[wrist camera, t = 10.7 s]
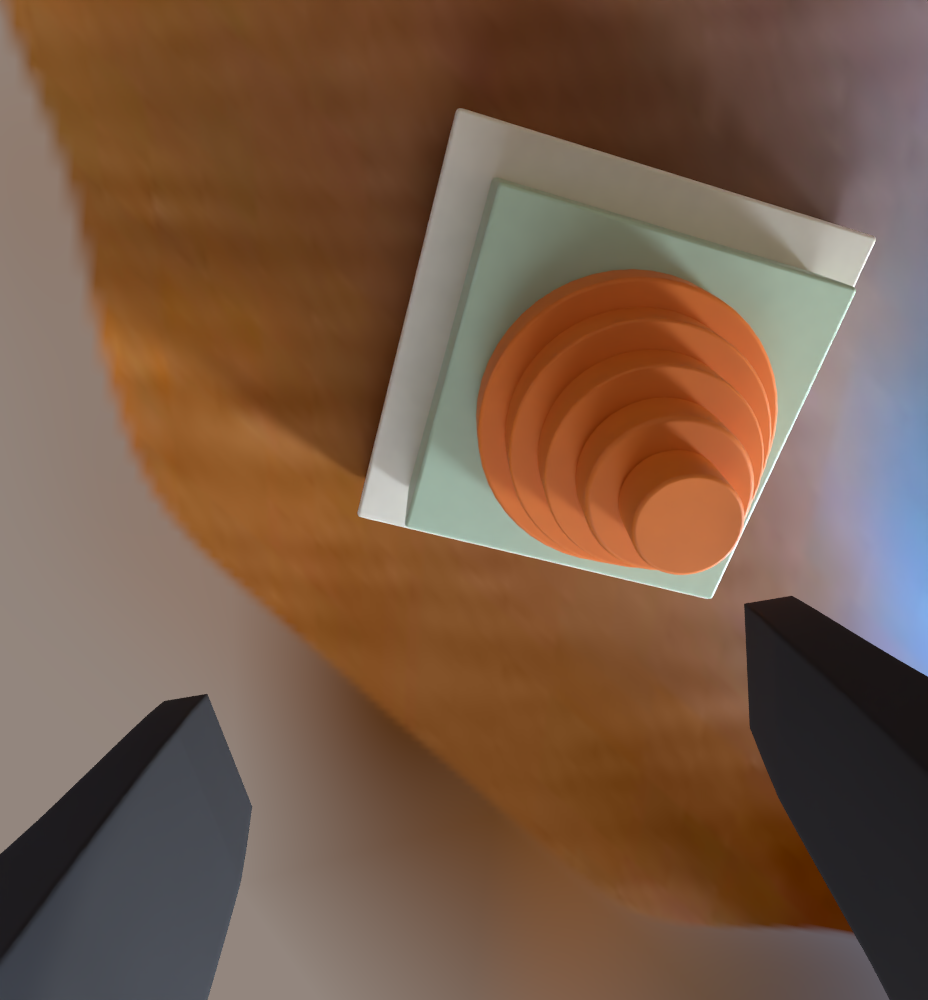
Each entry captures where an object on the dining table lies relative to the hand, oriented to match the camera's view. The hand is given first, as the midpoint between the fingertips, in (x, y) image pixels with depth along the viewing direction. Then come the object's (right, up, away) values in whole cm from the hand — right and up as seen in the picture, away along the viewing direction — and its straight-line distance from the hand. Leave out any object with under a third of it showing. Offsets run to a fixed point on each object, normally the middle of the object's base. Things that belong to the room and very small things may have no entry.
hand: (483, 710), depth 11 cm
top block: (+3, +5, +7) cm, 9 cm away
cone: (+3, +4, +5) cm, 7 cm away
